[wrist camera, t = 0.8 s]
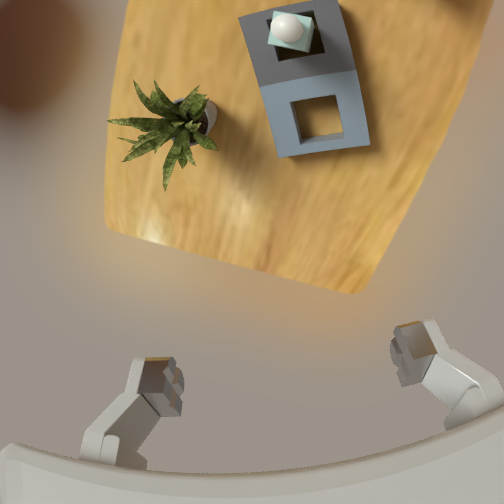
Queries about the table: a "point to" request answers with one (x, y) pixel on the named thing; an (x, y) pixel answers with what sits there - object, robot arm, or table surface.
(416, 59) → the table surface
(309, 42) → the plug
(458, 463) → the robot arm
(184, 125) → the house plant
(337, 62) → the socket panel
